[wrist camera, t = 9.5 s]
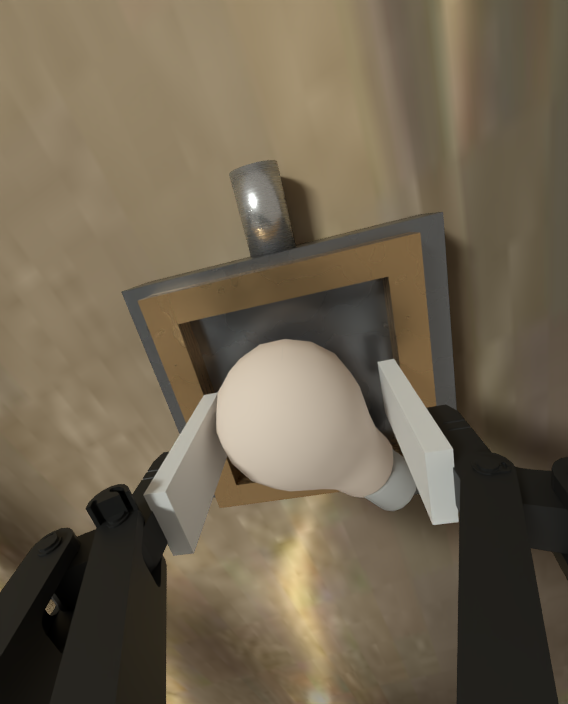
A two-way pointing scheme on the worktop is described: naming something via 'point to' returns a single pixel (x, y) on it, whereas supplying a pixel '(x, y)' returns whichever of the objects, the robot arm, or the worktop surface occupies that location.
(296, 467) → the light bulb
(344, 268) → the grey brown-rimmed square tray
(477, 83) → the worktop surface
